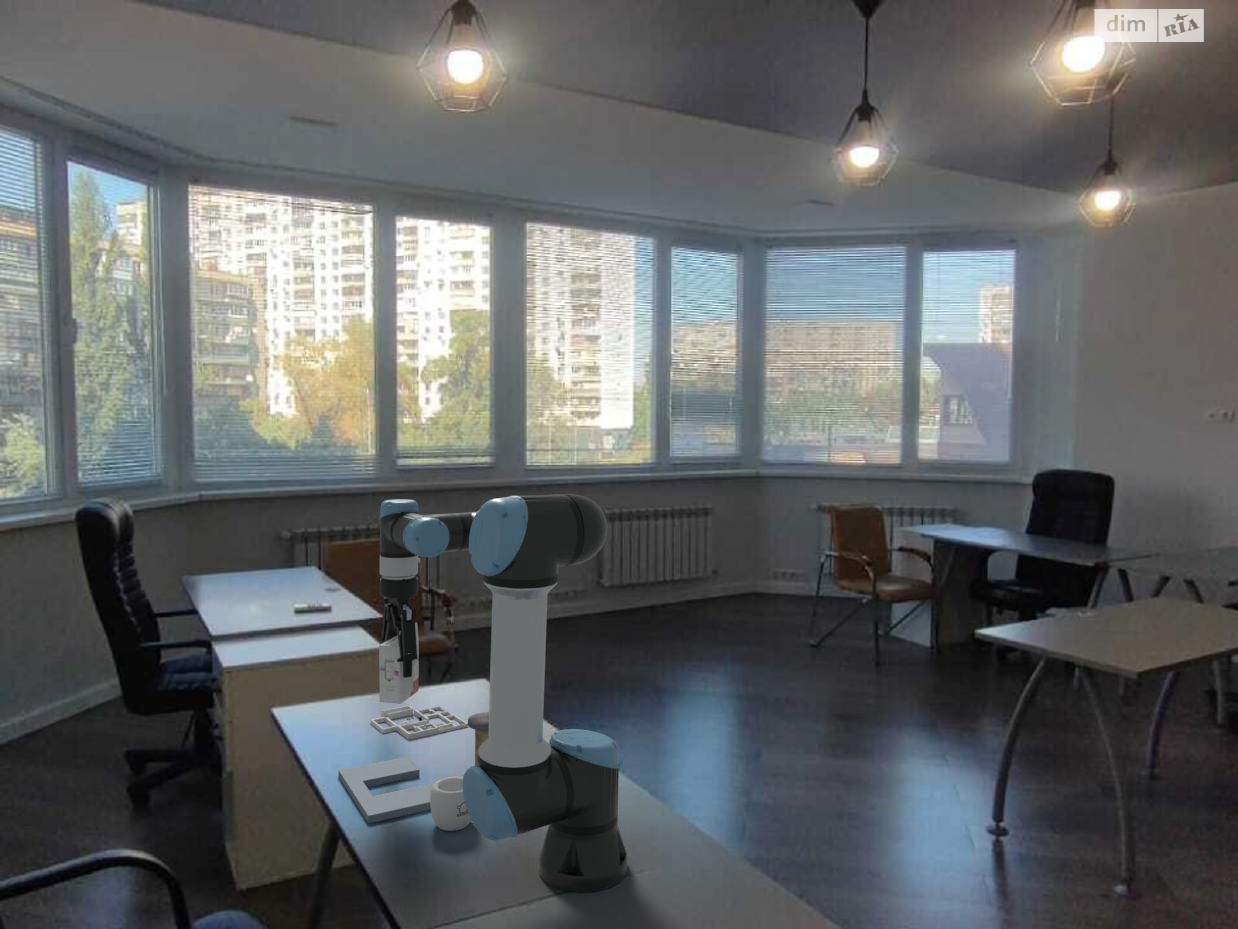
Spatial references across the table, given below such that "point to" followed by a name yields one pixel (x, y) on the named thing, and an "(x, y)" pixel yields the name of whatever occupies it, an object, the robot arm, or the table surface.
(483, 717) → the bobbin post
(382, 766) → the notched board
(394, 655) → the ink cartridge box
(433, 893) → the table surface
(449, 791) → the mug
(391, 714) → the floor plan model
